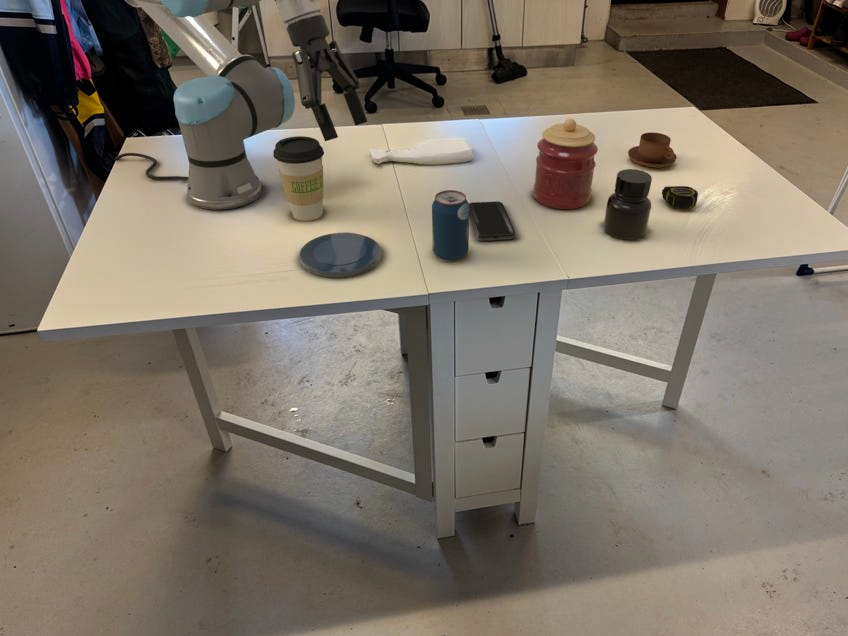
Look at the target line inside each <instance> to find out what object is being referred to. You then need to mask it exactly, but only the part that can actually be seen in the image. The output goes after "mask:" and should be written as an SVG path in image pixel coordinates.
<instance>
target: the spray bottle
mask: <svg viewBox="0 0 848 636" xmlns="http://www.w3.org/2000/svg"><path fill="white" fill-rule="evenodd" d="M369 153H370V157H371V160H372V161H373V162H374V163H376V164H377V165H380V164H381V163H384V162H400V163H409V164H417V165H425V166H426V165H428V166H429V165H433V166H434V165H437V166H438V165H447V164H458V163H459V164H460V163H467V162H471V161H472V160H473V157H474V155H473V153H474V152H473V150H472V148H471V146H470V144H469V142H468V141H467V140H466V138H464V137H444V138H443V137H441V138H431V139H427V140H426V139H425V140H423V141H421V142H419V143H418V144H417V145H416V146H415V147H414V148H412V149H401V150H396V149H393V150H392V149H391V148H388V149H383V150H379V149H375V148H373V147H372V148H370V149H369Z"/></svg>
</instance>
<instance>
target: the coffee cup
mask: <svg viewBox="0 0 848 636" xmlns="http://www.w3.org/2000/svg"><path fill="white" fill-rule="evenodd" d="M272 155H273V158H274V159H275V160H276V163H277V166H278V172H279V175H280V179H281V183H282V186H283V190H284V193H285V196H286V199H287V202H288V205H289V208H290V211H291V214H292V217H293V218H294V219H295V220H298V221H304V222H306V221H307V222H309V221H314V220H318V219H320V218H321V217H322V215H323V213H324V212H323V207H324V205H323V201H324V200H323V199H324V166H323V165H324V164H323V156H324V155H325V150H324V148H323V147H322V145H321V144H320V142H319V140H318V139H316V138H314V137H311V136H302V135H301V136H300V135H299V136H298V135H297V136H289V137H285V138H282V139H279V140H278V141H277V142H275V147H274V149H273V153H272Z"/></svg>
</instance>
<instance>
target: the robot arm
mask: <svg viewBox="0 0 848 636" xmlns="http://www.w3.org/2000/svg"><path fill="white" fill-rule="evenodd" d="M124 1H125V2H126V3H127V4H128V5H129V6H131V7H134V8H141V9H142V10H143V11H144V12H145V13H146V15H148V16H149V17H150V18H151V20H153V21H154V22H155V24H156V25H158V27H159V28H160V29H161V30H162V31H163V32H164V33H165V34H166V35H167V36H168V37H169V39H171V40H172V41H173V42H174V43H175V44H176V45H177V46H178V47H179V48H180V49H181V51H182V52H183V53H185V55H186V56H187V57H188V58H189V59H190V60H191V61H192V62H193V63H194V64H195V65H196V66H197V67H198V68H199V69H200V70H201V72H202V73H204V74H205V76H204V77H196V78H193V79H190V80H188V81H186V82H183V83H182V84H181V85H179V86H178V87H177V88H176V90H174V94H173V104H174V110H175V117H176V119H177V121H178V125H179V129H180V134H181V136H182V140H183V144H184V149H185V152H186V156H187V160H188V164H189V167H188V176H180V175H179V176H177V175H174V176H172V175H169V176H167V175H166V176H159V175H152V174H150V173H151V171H152V170H153V169H154V168H155V167H156V166H157V165H158V161H157V159H156V158H154V157H152V156H150V155H146V154H143V153H137V152H125V153H121V154H118V155H117V156H116V157H115V158H114V161H119V160H121V158H125V157H138V158H143V159H147V160H148V161H149V160H150V161H151V162H152V164H151V165H150V166H148V168H147V169H146V171H145V176H146V177H148V178H150V179H152V180H158V181H159V180H163V181H167V180H183V181H187V188H186V192H187V195H188V198H189V199H188V200H189V202H190V203H191V204H192V205H194V206H195V207H197V208H201V209H205V210H213V211H215V210H216V211H217V210H220V211H221V210H222V211H223V210H231V209H236V208H237V209H238V208H240V207H244V206H247V205H249V204H252V203H253V202H255V201H257V200H258V199H259V198H260V197H261V196H262V194H263V187H262V184H261V180H260V178H259V177H258V175H257V174H256V173H255V170H254V168H253V167H252V164H251V163H250V161H249V159H248V156H247V151H246V147H245V141H244V140H246V139H249V138H251V137H254V136H256V135H259V134H262V133H264V132H266V131H270V130H271V129H276V128H279V127H280V126H281V125H283V124H285V123H287V122H288V121H290V120H291V118H293V115H294V112H295V108H296V97H295V95H294V93H295V92H294V89H293V86H292V83H291V81H290V80H289V77H287V75H286V74H285V73H284V72H283V71H282V70H281V69H280V68H278V67H275V66H267V67H264V66H263V65H261V63H260V62H258V60H257V59H256V58H255V57H254V56H253V55H250V54H242V53H240V52H239V50H238V49H236V47H234V45H232V43H231V42H230V41H229V40H228V39H227V38H226V37H225V36H224V35H223V34H222V33H221V32H220V31H219V30H218V29H217V28H216V27H215V26H214V24H213V23H211V21H210V20H209V19H207V17H206V16H205V14H209V13H213V12H217V11H223V10H228V9H233V8H237V9H240V10H242V9H246V8H249V7H253V6H255V5H257V4H258V3H259V2H261V1H262V0H124ZM274 2H275V5H276V7H277V10H278V13H279V15H280V18H281V20H282V23H283V24H285V25H287V26H286V29H285V30H286V32H287V34H288V37H289V40H290V42H291V45H292V47H295V48H299V49H298V50H295V51H293V52H292V53H291V56H292V59H293V62H294V65H295V71H296V78H297V84H298V90H299V98H300V103H301V105H302V106H303V107H304V108H305V109H306V110H308V109H311V111H312V114H313V116H314V119H315V121H316V123H317V125H318V127H319V130H320V132H321V134H322V135H321V136H322V137H323V140H324V142H328V141H332V140H335V139H337V138H339V135H338V132H337V130H336V127H335V125H334V123H333V120H332V118H331V115H330V112H329V111H328V108H327V105H326V102H325V103H324V102H323V103H322V74H323V73H324V72H326V73H328V74H329V75H330V77H331V78H332V79H333V80H334V81H335V82H336V83H337V85H338V86H339V87H340V88H341V89H342V90H343V91H344V93H343V97H344V100H345V103H346V104H347V107H348V111H349V112H350V115H351V117H352V121H353V123H354V125H355V126H359V125H363V124H366V123H367V122H368V118H367V116H366V113H365V111H364V108H363V106H362V103H361V100H360V97H359V94H358V92H357V90H359V89H361V85H360V80H359V78H358V77H357V75H356V74H355V73H354V71H353V69H352V68H351V66H350V64H349V63H348V61H347V60H346V58H345V57H344V55H343V53H342V51H341V50H340V48H339V45H338V43H337V41H336V40H335V39H334V40H331V41H328V42H327V37H329V36H330V30H329V26H328V24H327V21H326V18H325V16H324V15H323V14H320V12H321V11H322V10H321V7H320V4H319V2H318V0H274Z"/></svg>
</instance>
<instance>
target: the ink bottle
mask: <svg viewBox="0 0 848 636" xmlns="http://www.w3.org/2000/svg"><path fill="white" fill-rule="evenodd" d="M652 181H653V178H652V175H651V174H650V173H648V172H646V171H645V170H642V169H636V168H635V169H633V168H626V169H622V170H618V171H617V173H616V179H615V185H614V193H612V194H611V195H609V196H608V199H607V203H606V207H605V214H604V220H603V229H604V231H605V233H606V234H608V235H609V236H611V237H613V238H617V239H620V240H621V239H622V240H636V239H640V238H642V237H644V236H645V234H646V232H647V229H648V226H649V225H648V224H649V220H650V219H649V218H650V214H651V210H652V202H651V200H650V198H648V196H649V193H650V190H651V185H652Z"/></svg>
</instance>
